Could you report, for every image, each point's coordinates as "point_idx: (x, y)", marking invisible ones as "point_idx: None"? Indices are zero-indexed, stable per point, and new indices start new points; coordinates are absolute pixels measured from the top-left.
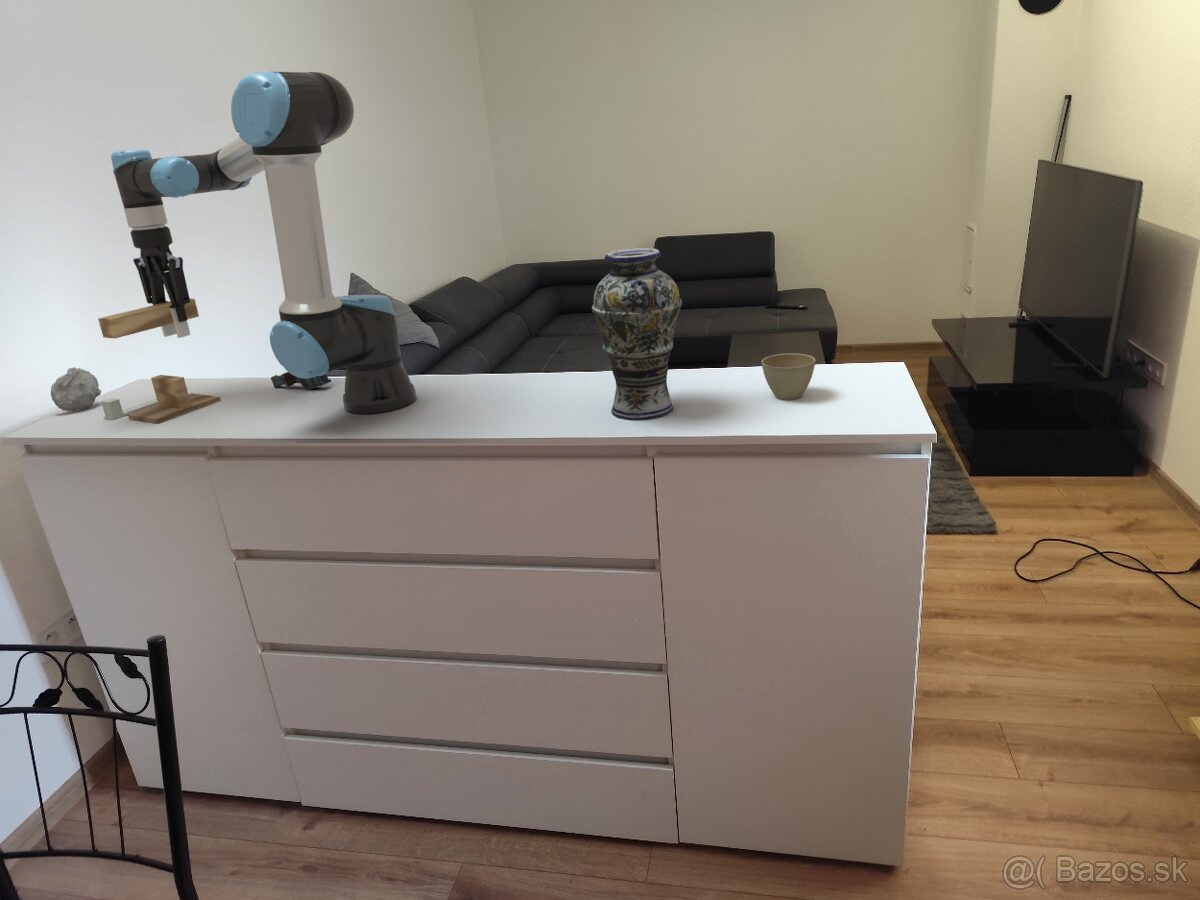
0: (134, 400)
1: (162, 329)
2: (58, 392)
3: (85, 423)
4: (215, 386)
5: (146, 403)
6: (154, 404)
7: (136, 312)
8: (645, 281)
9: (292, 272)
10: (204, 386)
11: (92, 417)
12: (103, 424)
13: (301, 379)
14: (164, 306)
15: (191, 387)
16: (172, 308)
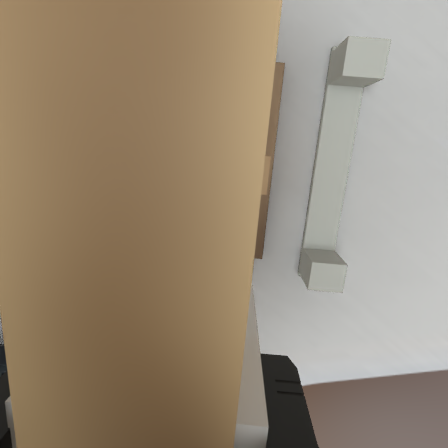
0: (420, 206)
1: (250, 305)
2: None
3: (398, 3)
4: (276, 335)
5: (335, 174)
6: (312, 180)
7: None
8: None
9: None
10: (308, 331)
11: (425, 55)
12: (327, 10)
13: (1, 359)
14: (12, 379)
15: (339, 320)
16: (7, 401)
